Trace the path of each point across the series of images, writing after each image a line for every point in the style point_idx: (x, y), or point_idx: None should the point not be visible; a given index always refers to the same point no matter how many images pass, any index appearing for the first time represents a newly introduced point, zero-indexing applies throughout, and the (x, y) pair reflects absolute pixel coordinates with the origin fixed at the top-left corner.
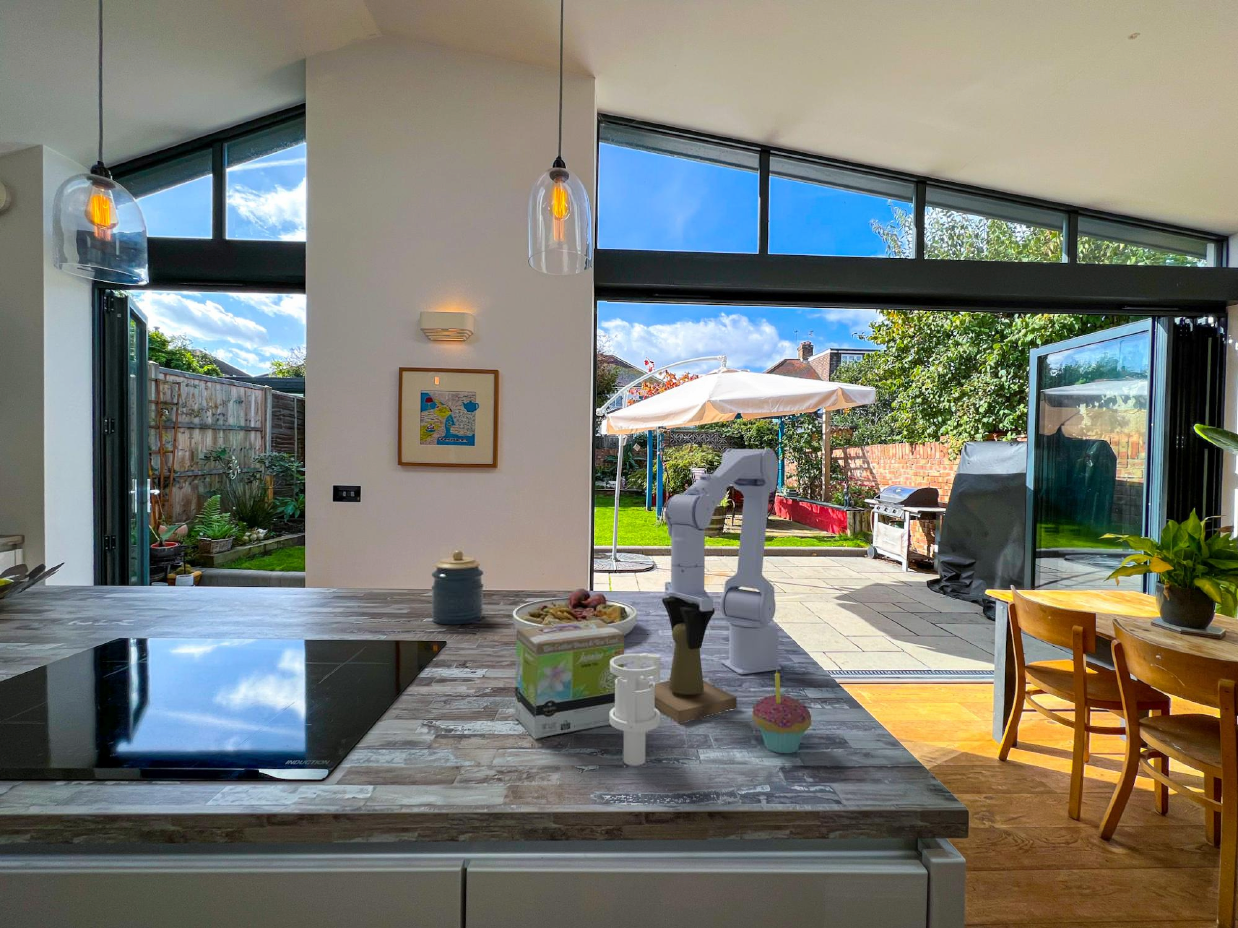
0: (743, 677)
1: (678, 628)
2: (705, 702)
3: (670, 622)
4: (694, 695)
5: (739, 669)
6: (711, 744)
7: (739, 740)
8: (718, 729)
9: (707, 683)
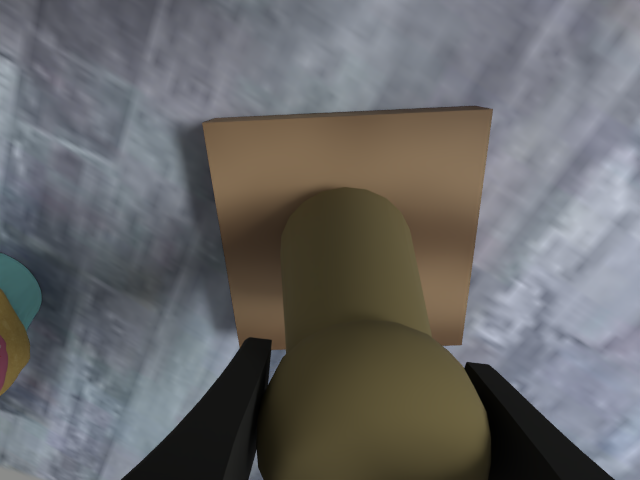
0: None
1: (359, 412)
2: (238, 250)
3: (577, 451)
4: None
5: None
6: (41, 126)
7: (52, 216)
8: (135, 207)
9: None
